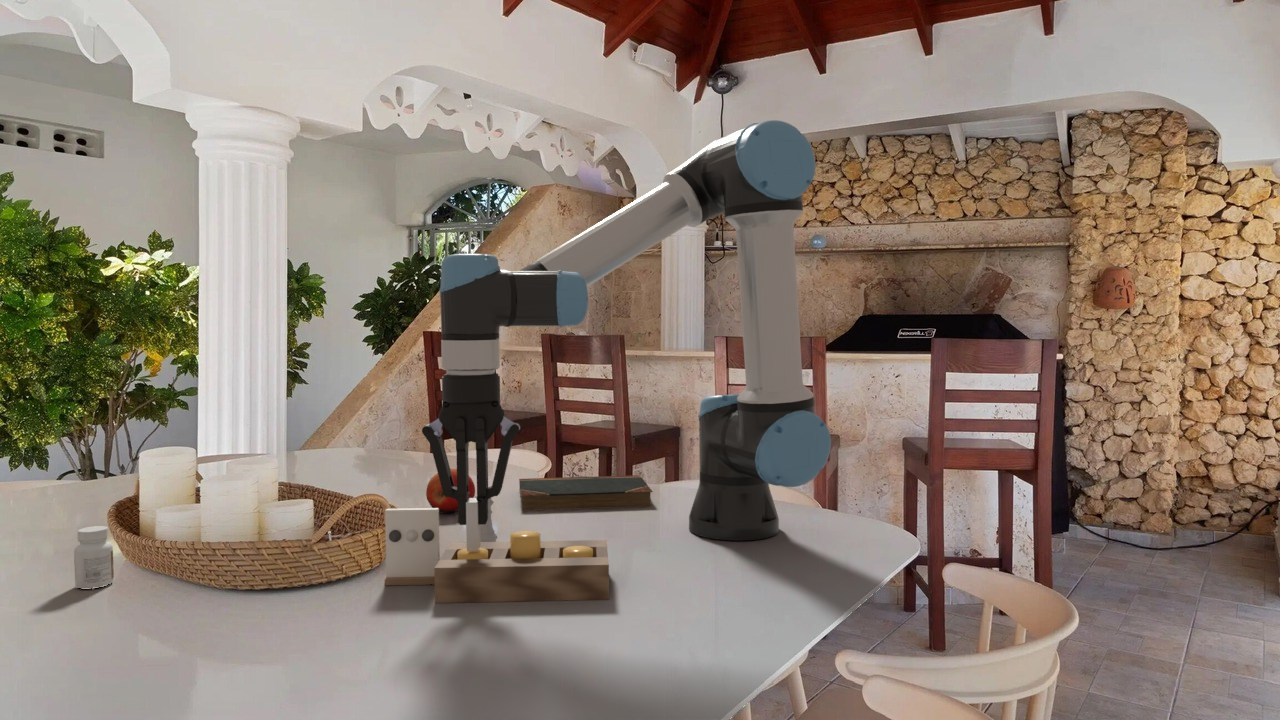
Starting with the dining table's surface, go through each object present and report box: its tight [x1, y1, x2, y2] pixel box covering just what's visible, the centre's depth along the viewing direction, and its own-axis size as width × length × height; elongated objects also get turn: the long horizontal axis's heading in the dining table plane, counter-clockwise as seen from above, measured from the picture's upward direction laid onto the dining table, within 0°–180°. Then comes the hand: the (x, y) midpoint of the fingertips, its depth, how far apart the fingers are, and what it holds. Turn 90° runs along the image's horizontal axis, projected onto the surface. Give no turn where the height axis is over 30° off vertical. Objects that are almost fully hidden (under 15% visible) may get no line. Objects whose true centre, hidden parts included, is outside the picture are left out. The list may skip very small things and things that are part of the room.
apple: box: [425, 468, 476, 514], centre depth 157 cm, size 8×8×8 cm
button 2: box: [563, 546, 593, 558], centre depth 115 cm, size 4×4×4 cm
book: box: [518, 474, 653, 511], centre depth 169 cm, size 17×4×25 cm
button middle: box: [509, 530, 541, 559], centre depth 114 cm, size 4×4×4 cm
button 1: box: [457, 548, 488, 560], centre depth 114 cm, size 4×4×4 cm
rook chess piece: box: [474, 495, 498, 542], centre depth 134 cm, size 4×4×8 cm
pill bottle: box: [73, 525, 115, 589], centre depth 115 cm, size 4×4×8 cm
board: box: [434, 539, 610, 604], centre depth 115 cm, size 22×12×4 cm, turn 94°
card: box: [384, 507, 441, 586], centre depth 116 cm, size 7×3×10 cm, turn 94°
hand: (473, 548), depth 114 cm, fingers closed
